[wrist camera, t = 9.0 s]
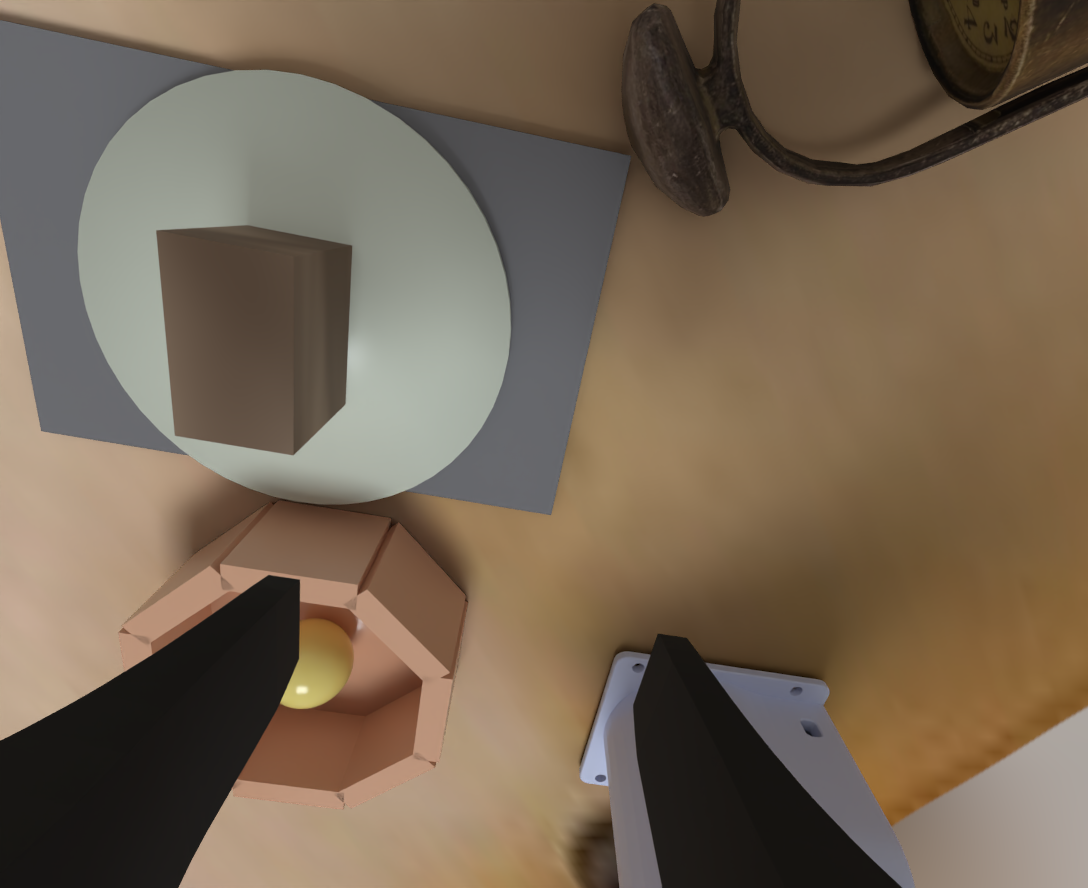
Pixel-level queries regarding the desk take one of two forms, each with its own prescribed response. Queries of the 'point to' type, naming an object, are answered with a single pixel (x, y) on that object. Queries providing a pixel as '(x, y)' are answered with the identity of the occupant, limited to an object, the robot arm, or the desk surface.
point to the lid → (294, 287)
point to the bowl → (330, 648)
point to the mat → (470, 148)
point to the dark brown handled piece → (721, 102)
